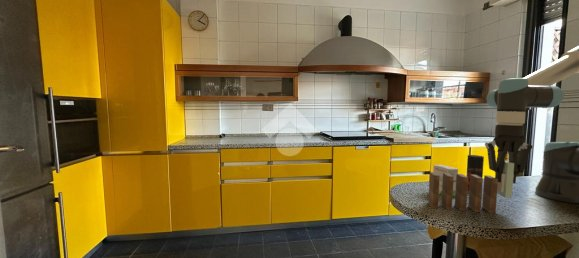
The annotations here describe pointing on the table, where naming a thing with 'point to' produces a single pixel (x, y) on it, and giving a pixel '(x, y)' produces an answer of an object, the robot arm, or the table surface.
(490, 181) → the domino
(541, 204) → the table surface
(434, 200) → the domino
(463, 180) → the domino
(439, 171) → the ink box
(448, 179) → the domino
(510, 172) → the domino
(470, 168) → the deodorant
